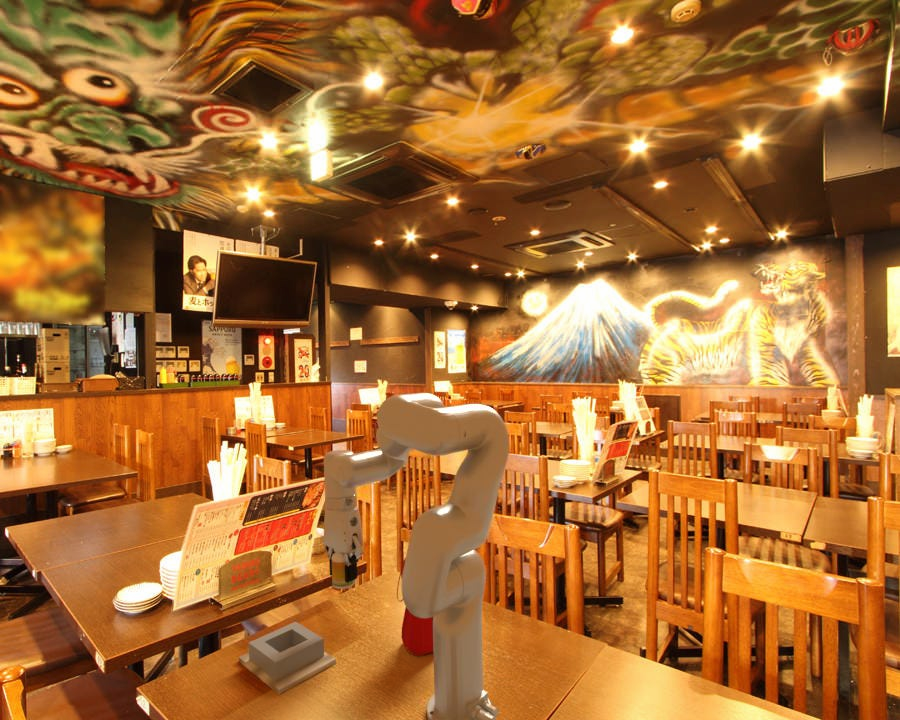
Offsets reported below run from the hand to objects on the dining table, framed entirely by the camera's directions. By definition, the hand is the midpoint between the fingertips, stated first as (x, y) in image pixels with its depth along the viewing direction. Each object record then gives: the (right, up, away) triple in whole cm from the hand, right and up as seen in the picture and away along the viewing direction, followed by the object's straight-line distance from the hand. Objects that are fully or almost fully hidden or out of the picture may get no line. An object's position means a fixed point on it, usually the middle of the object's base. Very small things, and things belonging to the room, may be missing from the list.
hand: (343, 576), depth 123 cm
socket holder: (-11, -17, -7) cm, 21 cm away
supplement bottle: (0, -2, 0) cm, 2 cm away
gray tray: (-11, -17, -7) cm, 21 cm away
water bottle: (+19, -16, -2) cm, 25 cm away
